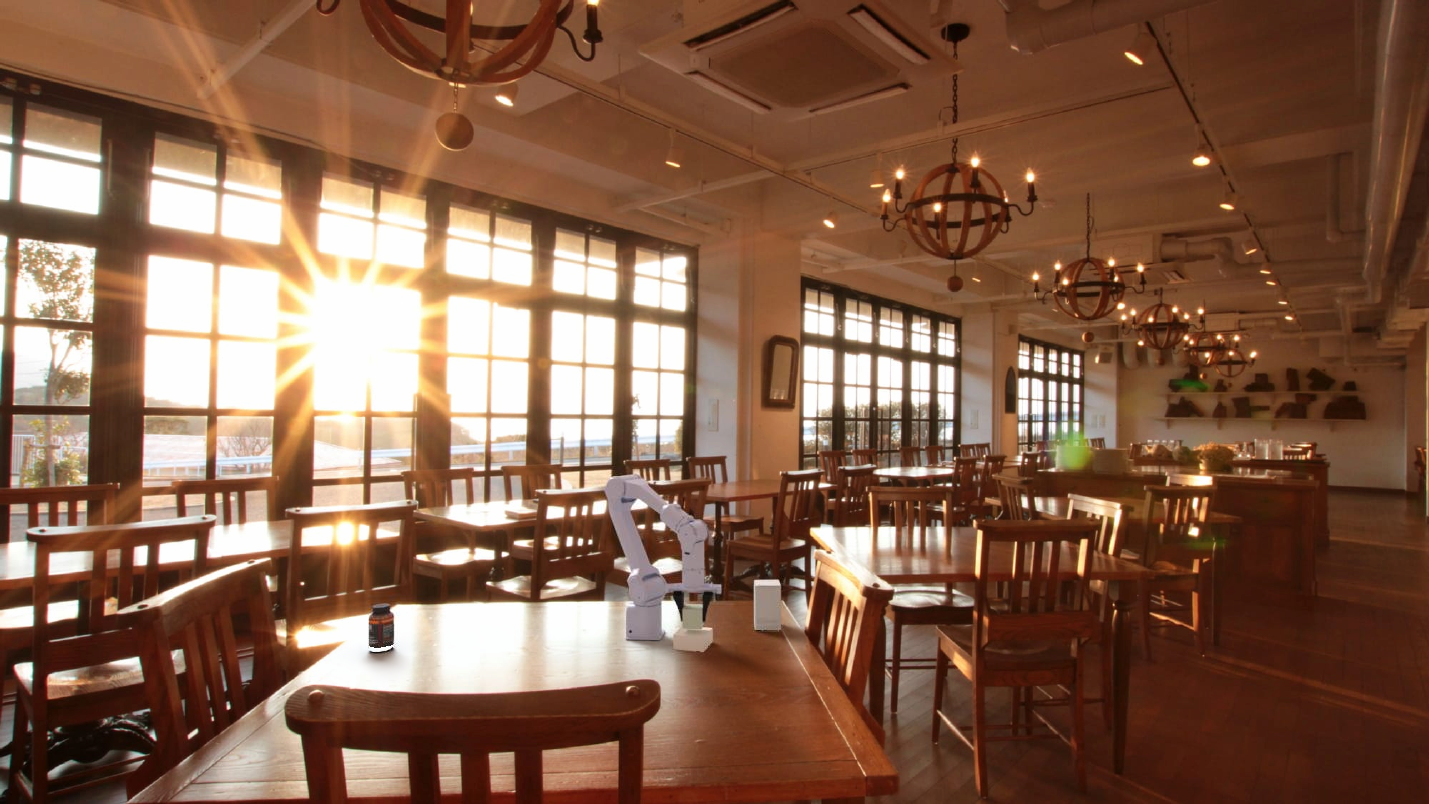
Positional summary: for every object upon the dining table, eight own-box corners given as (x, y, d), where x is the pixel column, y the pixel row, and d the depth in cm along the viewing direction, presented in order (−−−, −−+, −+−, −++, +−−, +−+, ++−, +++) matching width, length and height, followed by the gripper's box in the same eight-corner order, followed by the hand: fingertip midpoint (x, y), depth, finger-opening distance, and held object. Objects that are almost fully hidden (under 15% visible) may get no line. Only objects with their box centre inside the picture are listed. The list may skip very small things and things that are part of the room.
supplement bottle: (398, 646, 185) (399, 602, 185) (386, 654, 179) (386, 608, 179) (377, 645, 186) (377, 601, 186) (363, 653, 180) (363, 608, 180)
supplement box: (781, 631, 197) (781, 585, 197) (754, 631, 197) (754, 585, 197) (779, 623, 204) (779, 579, 204) (753, 623, 204) (753, 579, 204)
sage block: (682, 629, 183) (682, 609, 183) (684, 623, 188) (684, 604, 188) (702, 629, 182) (701, 609, 182) (703, 623, 187) (703, 604, 187)
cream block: (673, 650, 182) (673, 634, 182) (683, 640, 190) (683, 625, 190) (703, 653, 180) (703, 637, 180) (712, 643, 188) (712, 628, 188)
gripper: (663, 571, 182) (663, 624, 182) (719, 571, 181) (720, 625, 180) (667, 565, 189) (667, 616, 189) (721, 565, 188) (722, 617, 187)
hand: (693, 620), depth 185 cm, fingers closed on sage block, 5 cm apart
